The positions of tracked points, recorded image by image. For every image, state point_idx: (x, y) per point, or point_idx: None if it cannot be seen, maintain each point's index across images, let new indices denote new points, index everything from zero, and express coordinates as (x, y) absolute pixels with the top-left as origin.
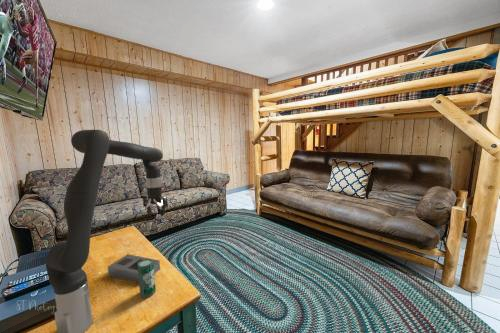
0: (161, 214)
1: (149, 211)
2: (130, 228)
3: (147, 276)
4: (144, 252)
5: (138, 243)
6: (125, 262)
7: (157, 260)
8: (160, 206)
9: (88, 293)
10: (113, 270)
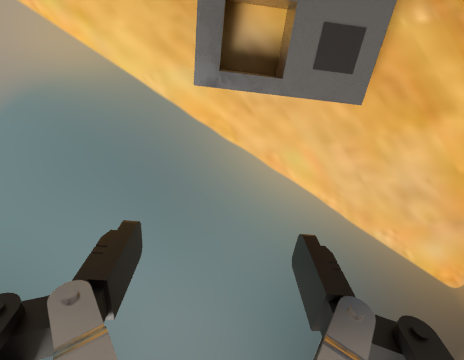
0: (118, 230)
1: (305, 264)
2: (453, 283)
3: None
4: (320, 165)
5: (374, 210)
6: (332, 39)
7: (202, 83)
8: (64, 328)
9: None
10: None
